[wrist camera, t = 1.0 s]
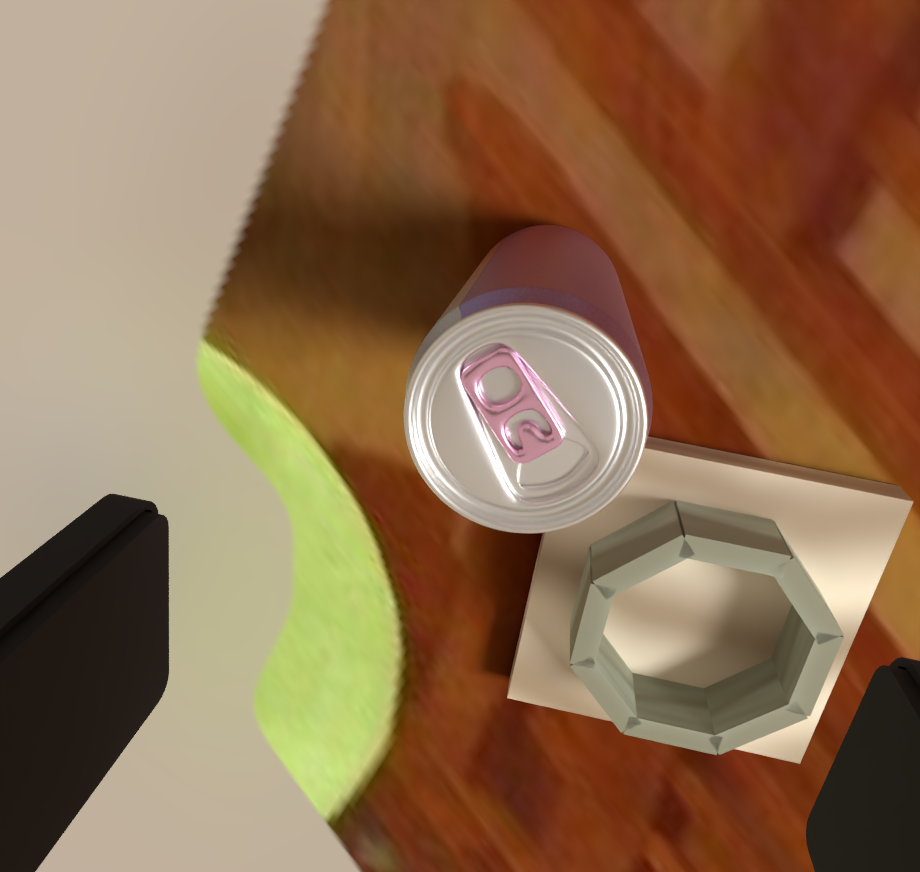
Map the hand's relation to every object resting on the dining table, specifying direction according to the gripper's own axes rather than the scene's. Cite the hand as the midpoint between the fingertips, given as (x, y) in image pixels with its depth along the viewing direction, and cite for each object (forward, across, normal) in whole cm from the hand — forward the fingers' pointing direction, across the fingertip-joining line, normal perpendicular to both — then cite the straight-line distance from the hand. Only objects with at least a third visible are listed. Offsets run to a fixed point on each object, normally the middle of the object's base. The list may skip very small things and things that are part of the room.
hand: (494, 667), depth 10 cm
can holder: (+23, -9, +12) cm, 27 cm away
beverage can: (+23, 0, 0) cm, 23 cm away
